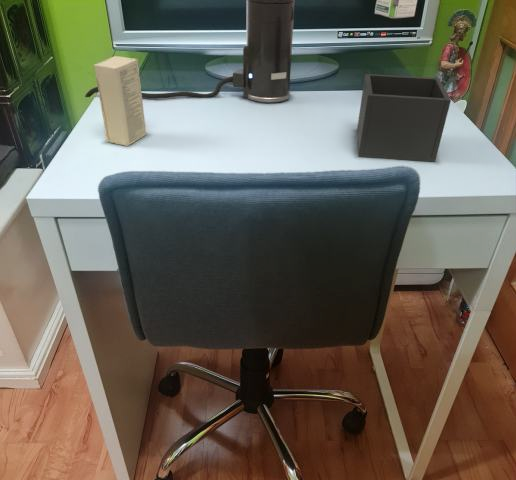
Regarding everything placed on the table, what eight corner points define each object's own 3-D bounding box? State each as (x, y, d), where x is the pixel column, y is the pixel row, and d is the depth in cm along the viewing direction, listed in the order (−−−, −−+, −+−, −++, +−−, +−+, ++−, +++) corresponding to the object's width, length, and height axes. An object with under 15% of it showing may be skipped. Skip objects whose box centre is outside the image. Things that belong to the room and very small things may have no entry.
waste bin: (358, 156, 85) (367, 95, 78) (356, 130, 94) (365, 73, 88) (435, 162, 84) (451, 100, 77) (425, 135, 93) (439, 77, 87)
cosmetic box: (126, 131, 91) (115, 55, 83) (148, 135, 90) (138, 58, 82) (105, 142, 87) (92, 63, 79) (128, 147, 86) (116, 67, 78)
